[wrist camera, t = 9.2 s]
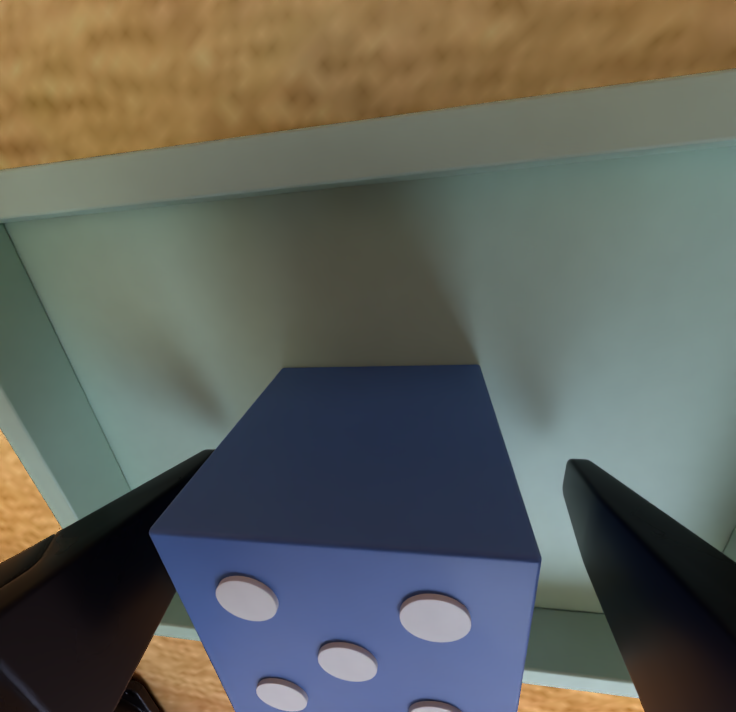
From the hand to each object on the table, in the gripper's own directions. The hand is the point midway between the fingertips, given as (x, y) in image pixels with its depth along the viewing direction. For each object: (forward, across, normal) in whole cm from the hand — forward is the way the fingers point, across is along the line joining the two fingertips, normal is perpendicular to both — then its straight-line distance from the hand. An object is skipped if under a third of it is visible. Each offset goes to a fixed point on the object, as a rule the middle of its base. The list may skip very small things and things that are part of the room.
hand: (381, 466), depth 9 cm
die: (+1, 0, 0) cm, 1 cm away
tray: (+1, 0, 0) cm, 1 cm away
